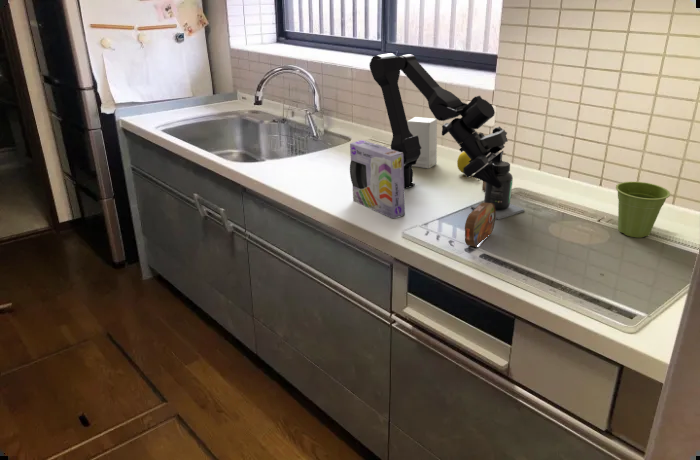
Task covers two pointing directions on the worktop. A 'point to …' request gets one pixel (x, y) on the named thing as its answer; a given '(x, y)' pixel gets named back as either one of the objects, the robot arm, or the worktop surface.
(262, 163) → the worktop surface
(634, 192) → the plant pot
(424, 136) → the skincare box
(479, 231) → the tin
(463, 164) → the lemon
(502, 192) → the supplement bottle
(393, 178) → the cake pan box
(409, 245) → the worktop surface
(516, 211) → the slate mat
